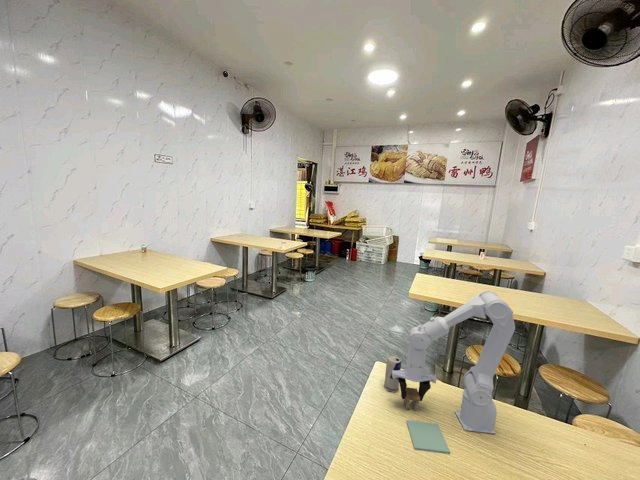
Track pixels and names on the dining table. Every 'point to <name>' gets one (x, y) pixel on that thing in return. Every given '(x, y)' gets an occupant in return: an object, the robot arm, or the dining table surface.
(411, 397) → the brown block with pegs
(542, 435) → the dining table surface
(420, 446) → the board
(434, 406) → the dining table surface
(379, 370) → the dining table surface
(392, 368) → the energy drink
